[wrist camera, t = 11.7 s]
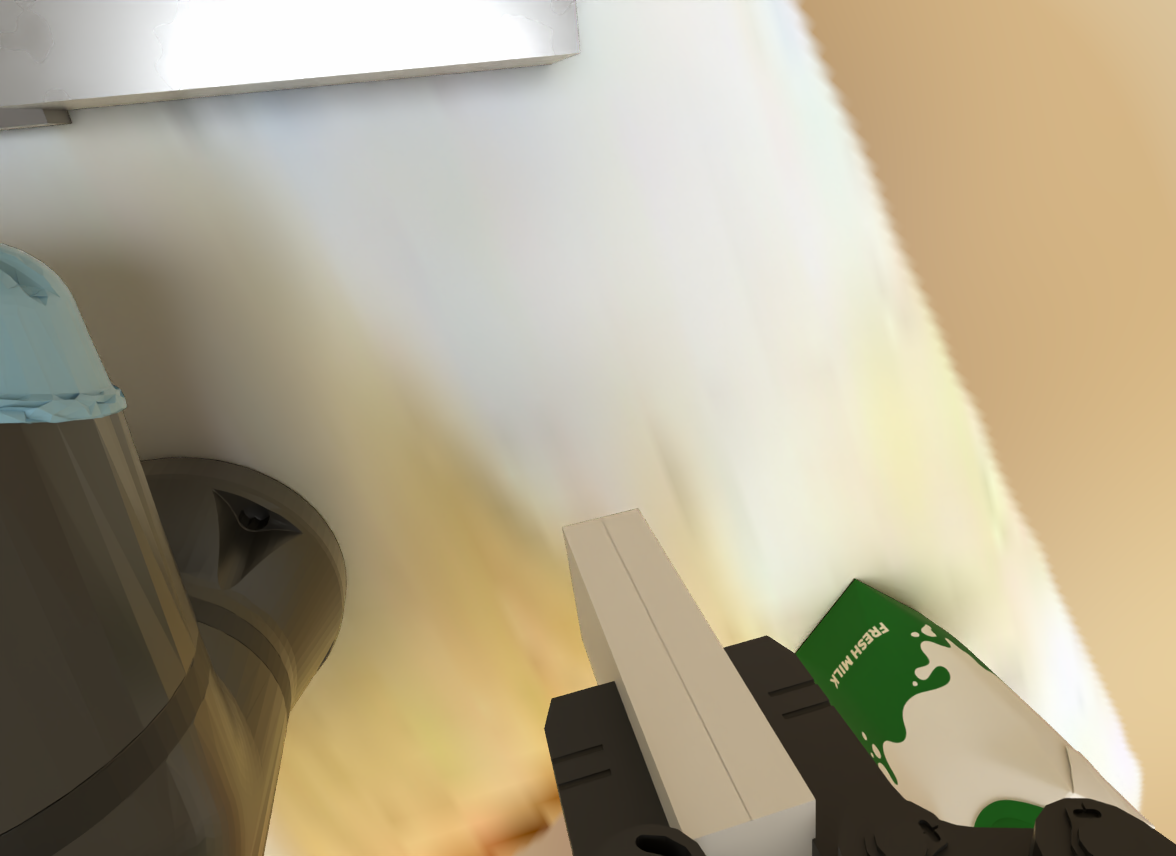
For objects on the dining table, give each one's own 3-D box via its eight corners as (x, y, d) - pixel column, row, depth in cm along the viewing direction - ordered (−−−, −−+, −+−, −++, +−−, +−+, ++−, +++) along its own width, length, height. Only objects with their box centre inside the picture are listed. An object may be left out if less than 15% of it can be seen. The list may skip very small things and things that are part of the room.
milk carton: (853, 563, 48) (1117, 820, 31) (936, 607, 52) (1215, 861, 34) (777, 659, 50) (983, 956, 32) (861, 696, 54) (1090, 981, 36)
